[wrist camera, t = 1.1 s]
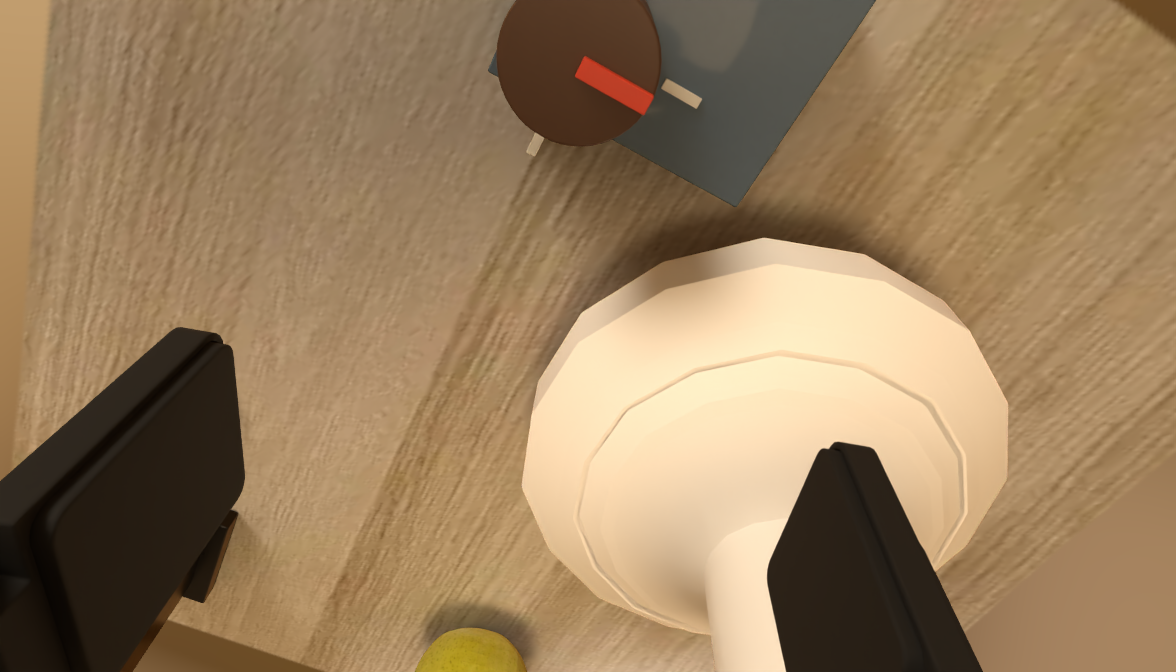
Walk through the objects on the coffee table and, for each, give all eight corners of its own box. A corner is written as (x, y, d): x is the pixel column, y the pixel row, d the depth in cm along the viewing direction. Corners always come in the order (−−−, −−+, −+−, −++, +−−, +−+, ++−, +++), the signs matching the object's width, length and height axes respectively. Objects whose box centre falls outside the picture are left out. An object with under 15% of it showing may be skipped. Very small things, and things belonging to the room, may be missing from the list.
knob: (498, 67, 23) (468, 101, 19) (556, -66, 21) (538, -65, 17) (613, 131, 24) (611, 177, 20) (680, 8, 22) (694, 28, 18)
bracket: (109, 465, 37) (-84, 666, 27) (238, 512, 39) (101, 720, 29) (93, 546, 41) (-84, 752, 30) (213, 587, 42) (81, 798, 32)
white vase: (729, 606, 41) (801, 1073, 24) (452, 415, 35) (292, 865, 18) (1046, 401, 33) (1485, 892, 16) (757, 107, 27) (981, 405, 10)
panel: (438, 78, 27) (417, 94, 24) (552, -209, 22) (542, -229, 19) (701, 219, 29) (710, 250, 26) (853, -14, 24) (882, -6, 22)
